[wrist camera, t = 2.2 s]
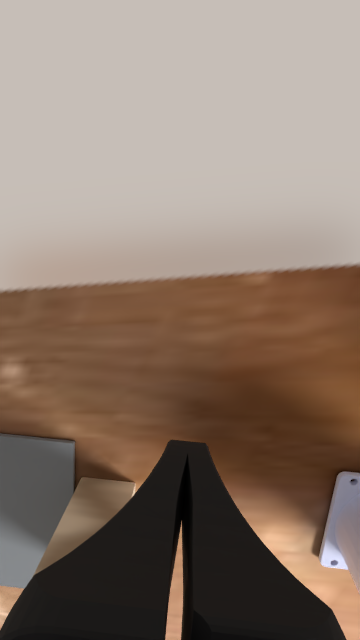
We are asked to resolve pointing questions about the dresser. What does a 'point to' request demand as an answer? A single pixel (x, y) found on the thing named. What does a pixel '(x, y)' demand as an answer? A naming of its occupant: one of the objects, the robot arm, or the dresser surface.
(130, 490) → the birch block
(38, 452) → the mat
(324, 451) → the dresser surface
